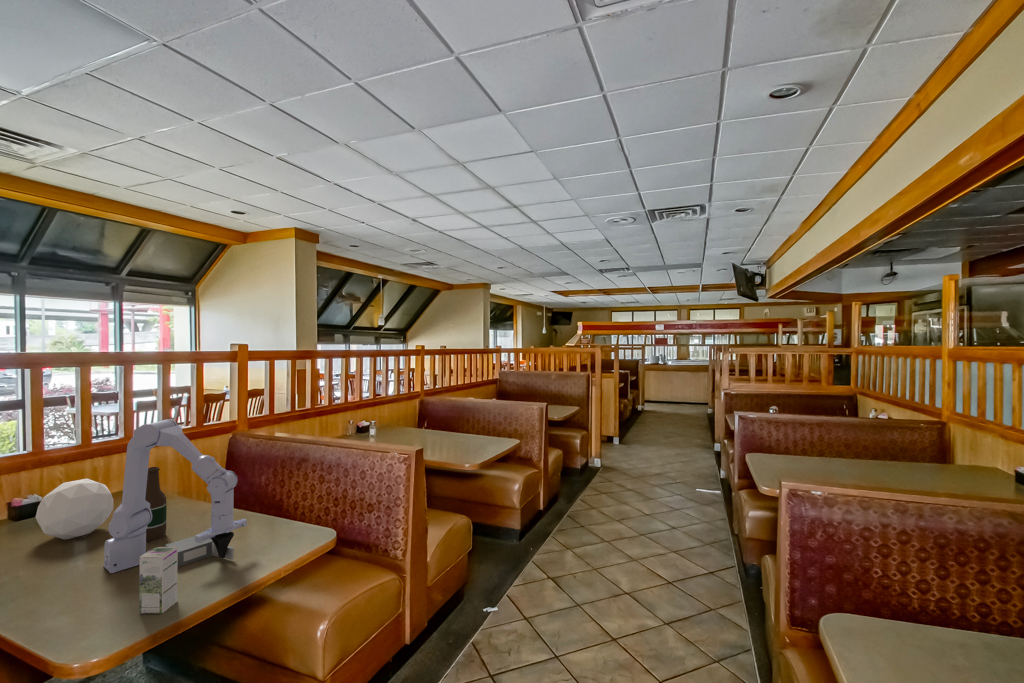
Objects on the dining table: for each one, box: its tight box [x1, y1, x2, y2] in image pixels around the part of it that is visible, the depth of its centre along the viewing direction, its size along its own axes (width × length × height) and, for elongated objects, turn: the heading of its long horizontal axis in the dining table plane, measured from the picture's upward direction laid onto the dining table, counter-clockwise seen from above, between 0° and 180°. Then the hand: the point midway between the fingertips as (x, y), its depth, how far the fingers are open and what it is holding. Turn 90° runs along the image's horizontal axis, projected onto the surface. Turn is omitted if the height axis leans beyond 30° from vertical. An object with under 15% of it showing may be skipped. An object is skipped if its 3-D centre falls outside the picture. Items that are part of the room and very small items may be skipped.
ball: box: [35, 478, 115, 541], centre depth 156 cm, size 19×20×20 cm
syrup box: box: [139, 546, 178, 615], centre depth 114 cm, size 6×6×14 cm
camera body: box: [164, 535, 213, 568], centre depth 141 cm, size 13×9×5 cm
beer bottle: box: [145, 466, 168, 543], centre depth 155 cm, size 8×8×24 cm
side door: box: [211, 543, 235, 561], centre depth 140 cm, size 9×1×4 cm, turn 68°
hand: (221, 557), depth 138 cm, fingers closed
